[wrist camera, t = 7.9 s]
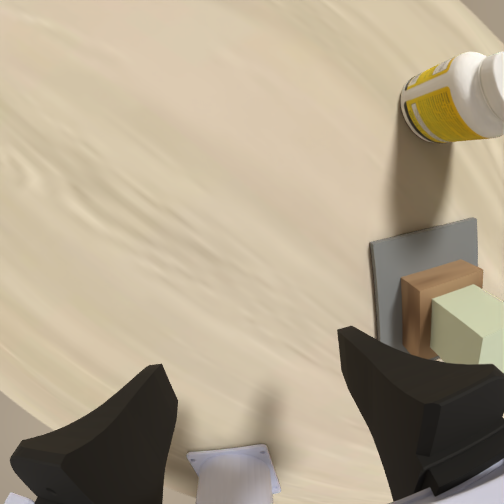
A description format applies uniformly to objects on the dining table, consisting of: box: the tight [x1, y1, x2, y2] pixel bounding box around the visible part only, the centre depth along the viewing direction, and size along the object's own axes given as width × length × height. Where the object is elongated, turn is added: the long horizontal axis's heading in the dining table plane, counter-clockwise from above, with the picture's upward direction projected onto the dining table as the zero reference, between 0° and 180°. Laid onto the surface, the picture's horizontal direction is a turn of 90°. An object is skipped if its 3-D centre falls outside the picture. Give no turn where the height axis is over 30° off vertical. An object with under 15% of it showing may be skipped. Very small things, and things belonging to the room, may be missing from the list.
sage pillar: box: [430, 284, 504, 373], centre depth 16 cm, size 4×4×6 cm
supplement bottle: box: [401, 52, 504, 143], centre depth 14 cm, size 5×5×10 cm
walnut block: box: [401, 259, 483, 359], centre depth 21 cm, size 6×6×3 cm
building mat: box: [370, 218, 478, 360], centre depth 22 cm, size 12×10×1 cm
